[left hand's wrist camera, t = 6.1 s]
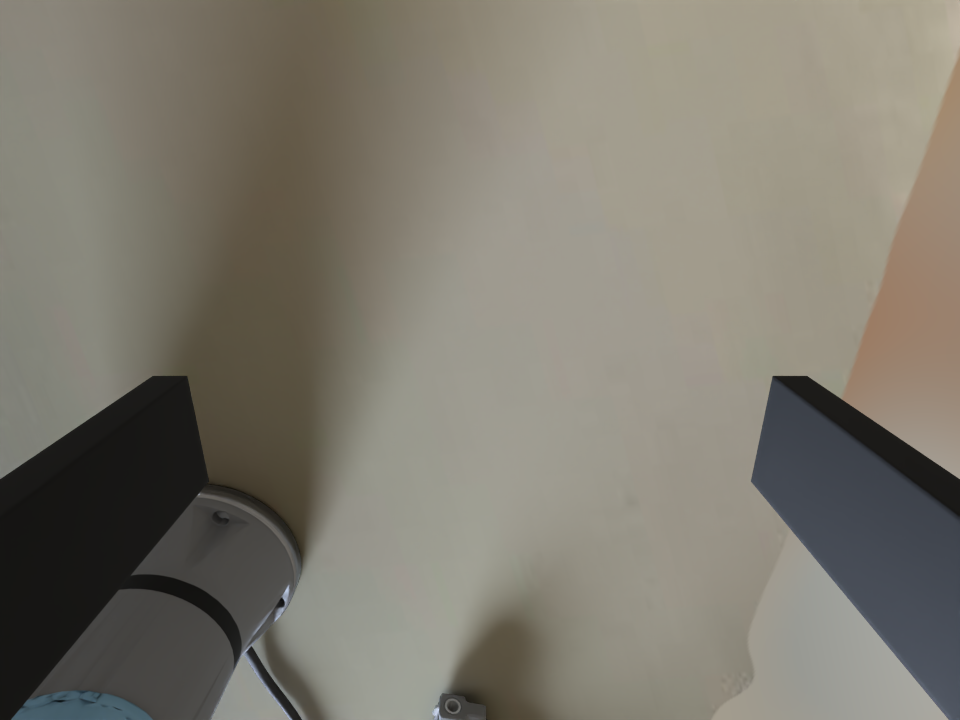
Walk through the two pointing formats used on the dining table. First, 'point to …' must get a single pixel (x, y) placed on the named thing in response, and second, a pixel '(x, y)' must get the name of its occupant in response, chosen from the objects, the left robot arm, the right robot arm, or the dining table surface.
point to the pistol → (458, 709)
